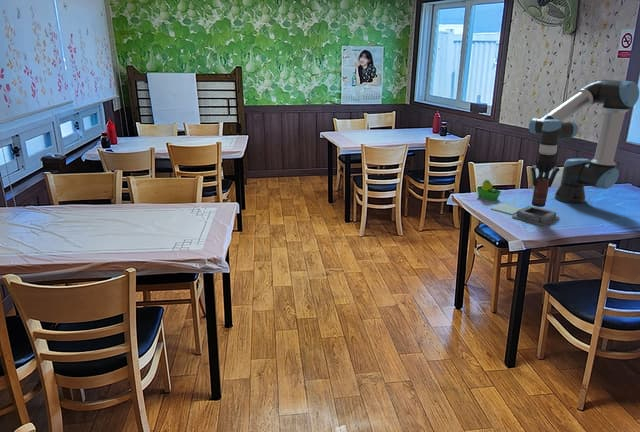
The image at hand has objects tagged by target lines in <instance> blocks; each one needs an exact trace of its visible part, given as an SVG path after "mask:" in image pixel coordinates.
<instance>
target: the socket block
mask: <svg viewBox="0 0 640 432" xmlns="http://www.w3.org/2000/svg"><path fill="white" fill-rule="evenodd" d="M521 208H522V207H521ZM511 216H512V219H516V220H520V221H523V222H526V223H530V224H533V225H534V224H535V225H537V226H541V227H544V226H545V227H547V226H549V225H550V223H551V224H552V222H553V223H554V222H556V221H558V220H560V216H557V212H556V211H555V212H554V211H553V210H549V209H545V208H543V207H536V206H531V205H527V206H525V207H523V208H522V209H520V210H518V211H517V213H516V214H513V215H511ZM548 224H549V225H548Z"/></svg>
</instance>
